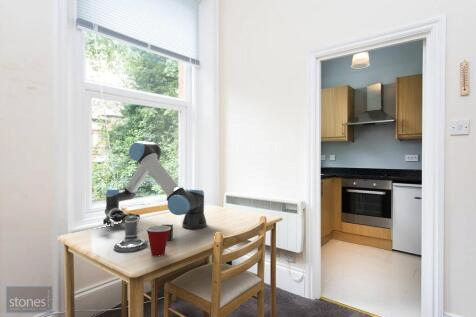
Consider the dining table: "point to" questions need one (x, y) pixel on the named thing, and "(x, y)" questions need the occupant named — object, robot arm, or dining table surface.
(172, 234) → the box
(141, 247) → the mount plate
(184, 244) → the dining table surface
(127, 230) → the lens
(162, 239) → the plastic cup
